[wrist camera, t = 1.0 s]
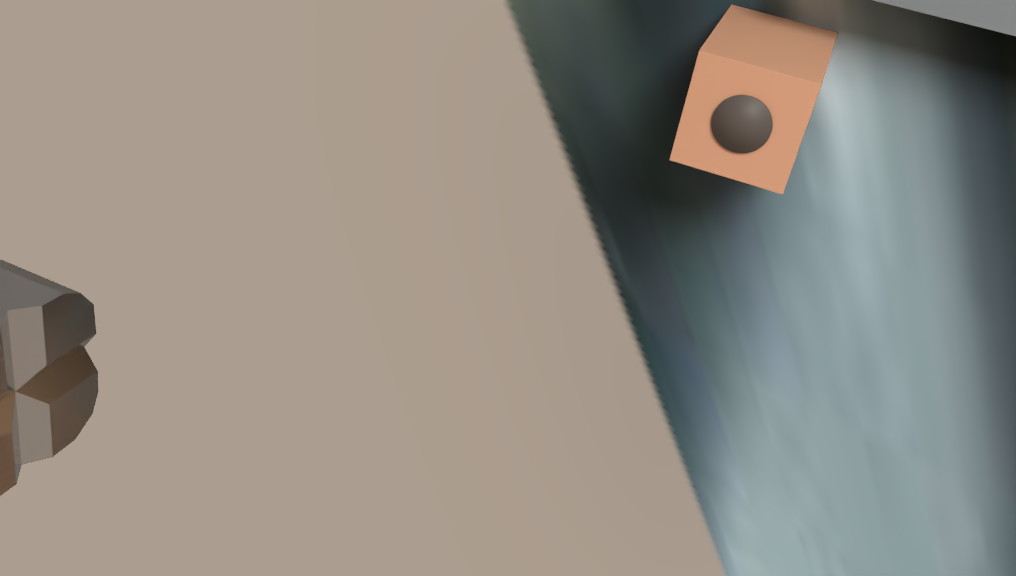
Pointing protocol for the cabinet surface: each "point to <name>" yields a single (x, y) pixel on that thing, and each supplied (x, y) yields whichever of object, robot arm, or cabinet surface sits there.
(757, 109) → the terracotta block
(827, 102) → the cabinet surface
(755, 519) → the cabinet surface
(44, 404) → the robot arm
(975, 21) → the tray
